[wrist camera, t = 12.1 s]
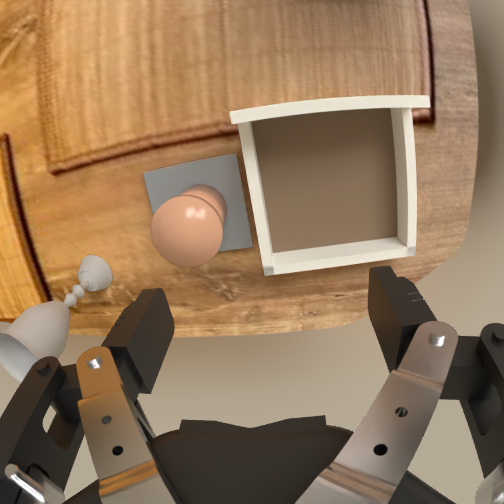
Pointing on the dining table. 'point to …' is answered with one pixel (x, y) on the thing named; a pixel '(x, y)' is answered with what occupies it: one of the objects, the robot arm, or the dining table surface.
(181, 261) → the tan capped cylinder
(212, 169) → the slate tile
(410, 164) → the drawer
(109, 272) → the chalice
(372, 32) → the dining table surface
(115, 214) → the dining table surface
